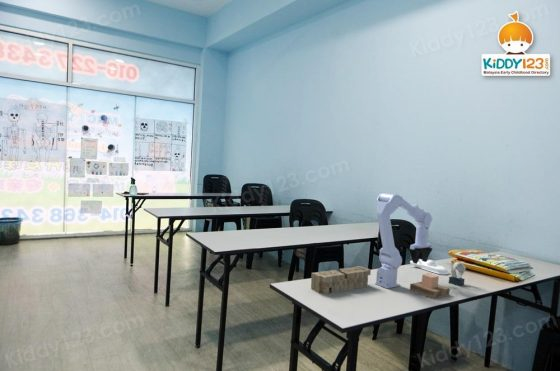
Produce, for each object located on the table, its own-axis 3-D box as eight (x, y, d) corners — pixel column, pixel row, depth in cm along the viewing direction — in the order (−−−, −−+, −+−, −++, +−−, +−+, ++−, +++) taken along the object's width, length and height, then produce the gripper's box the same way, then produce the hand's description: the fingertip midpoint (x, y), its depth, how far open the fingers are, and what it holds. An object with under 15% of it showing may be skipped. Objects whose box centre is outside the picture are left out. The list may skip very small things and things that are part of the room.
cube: (431, 288, 172) (432, 277, 172) (421, 285, 176) (422, 274, 176) (437, 287, 175) (438, 276, 175) (428, 283, 179) (428, 273, 179)
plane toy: (441, 276, 204) (442, 265, 203) (409, 266, 220) (410, 256, 220) (452, 274, 210) (453, 263, 209) (420, 264, 226) (421, 255, 226)
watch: (466, 284, 191) (468, 262, 191) (457, 286, 187) (459, 264, 186) (455, 281, 196) (457, 260, 195) (446, 283, 191) (448, 261, 191)
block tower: (321, 296, 165) (370, 286, 180) (321, 277, 165) (371, 268, 180) (310, 291, 172) (359, 281, 187) (311, 272, 171) (359, 264, 186)
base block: (432, 298, 167) (433, 292, 167) (409, 290, 177) (410, 283, 177) (448, 294, 174) (449, 288, 174) (425, 286, 184) (426, 280, 184)
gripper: (419, 238, 184) (417, 265, 185) (437, 236, 193) (435, 262, 193) (407, 235, 190) (405, 262, 191) (425, 233, 198) (423, 259, 199)
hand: (419, 262), depth 193 cm, fingers open, 7 cm apart
